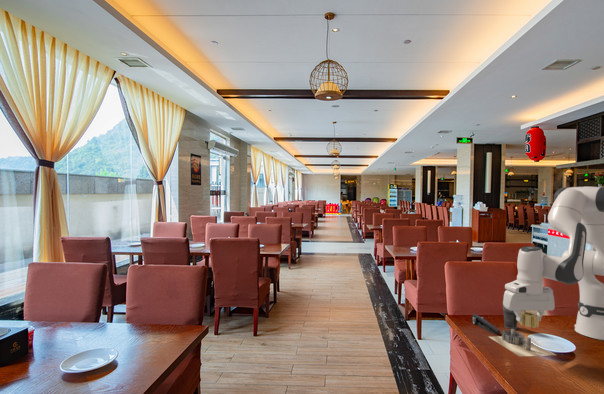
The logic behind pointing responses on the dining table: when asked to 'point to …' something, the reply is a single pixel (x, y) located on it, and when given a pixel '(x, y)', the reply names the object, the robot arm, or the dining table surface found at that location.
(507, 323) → the beverage cup
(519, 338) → the gear
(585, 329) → the robot arm
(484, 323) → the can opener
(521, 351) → the gear board
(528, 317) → the gear
